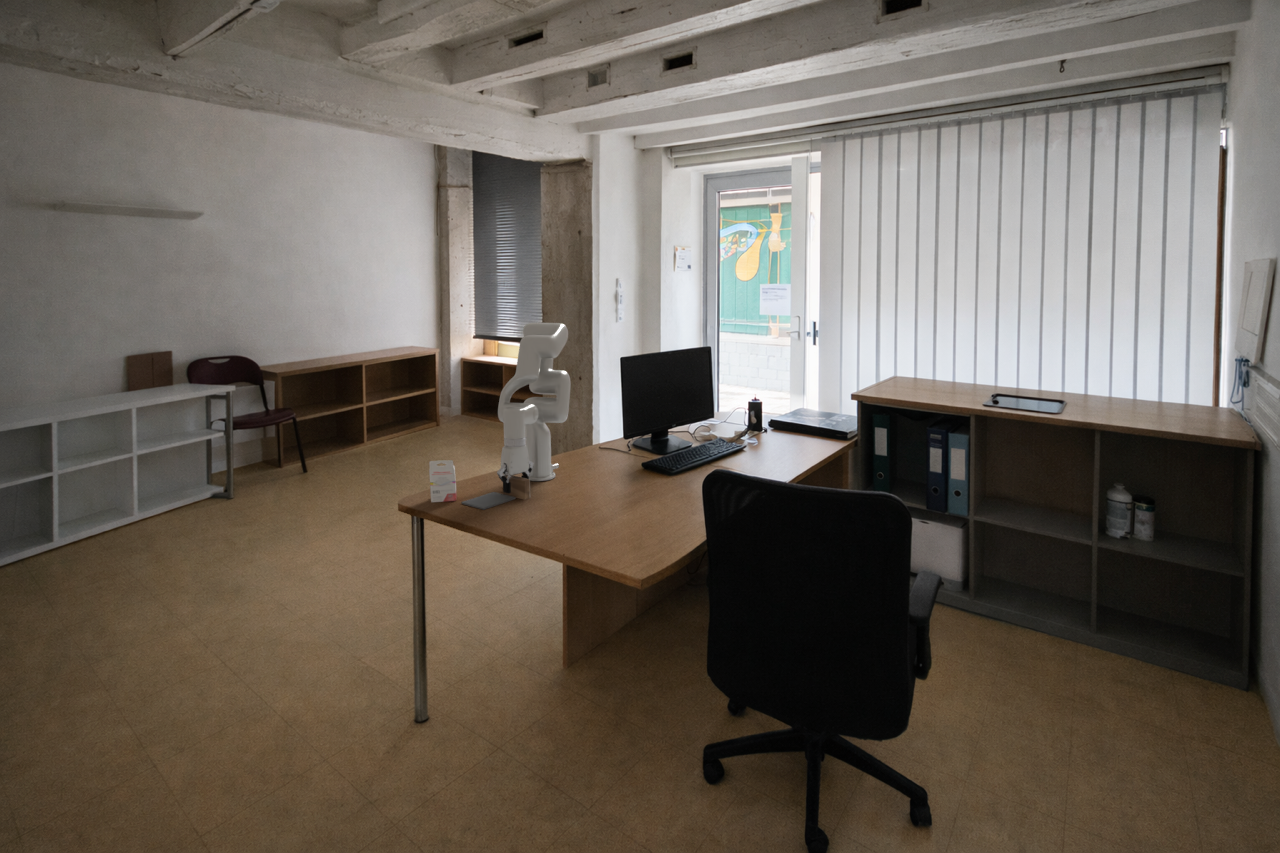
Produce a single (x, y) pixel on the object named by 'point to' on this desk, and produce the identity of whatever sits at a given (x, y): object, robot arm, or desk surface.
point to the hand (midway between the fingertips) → (516, 489)
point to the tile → (519, 487)
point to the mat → (488, 500)
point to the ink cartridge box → (442, 481)
